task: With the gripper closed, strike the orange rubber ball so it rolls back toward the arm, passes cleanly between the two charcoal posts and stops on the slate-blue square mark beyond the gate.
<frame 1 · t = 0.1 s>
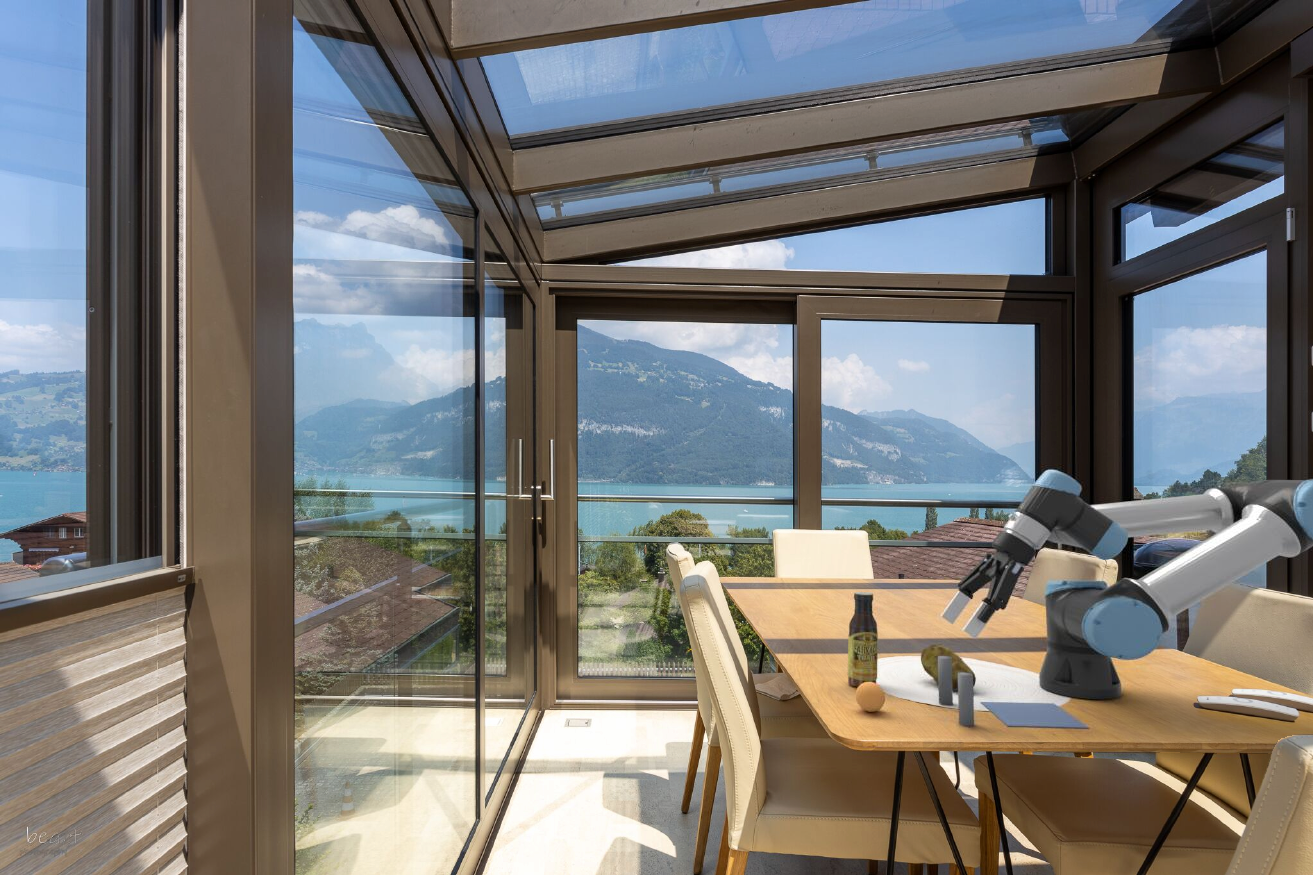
hand: (957, 627, 146), 15 cm above the table, tool tilted 35°, fingers open, 13 cm apart
post 1: (945, 703, 147), on the table
post 2: (966, 724, 135), on the table
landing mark: (1031, 714, 140), on the table
sauce bottle: (863, 686, 160), on the table
potato: (947, 686, 159), on the table
ball: (870, 696, 142), on the table
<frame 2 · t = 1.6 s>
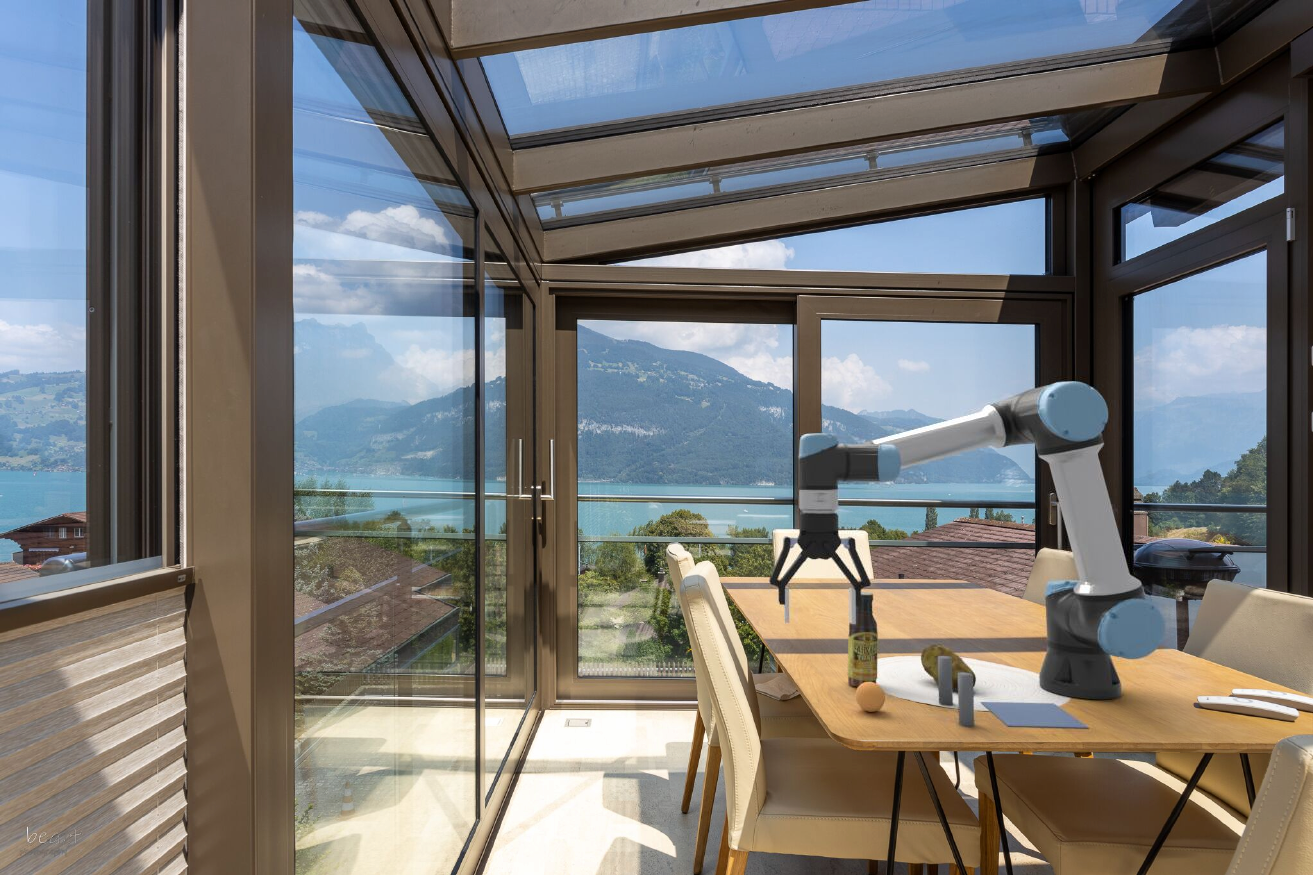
hand: (819, 622, 144), 17 cm above the table, tool pointing down, fingers open, 12 cm apart
nothing on the table moved.
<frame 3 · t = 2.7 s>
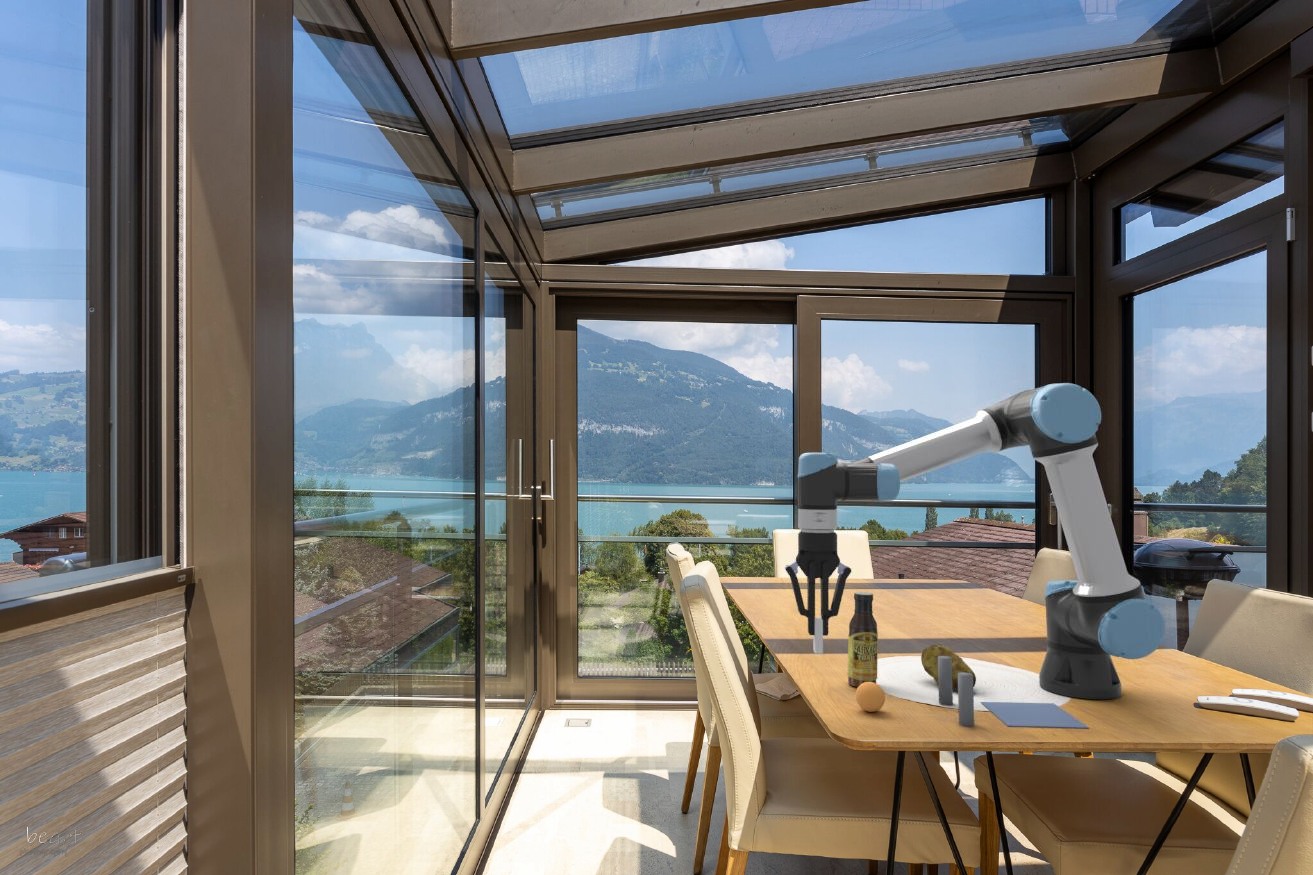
hand: (818, 651, 144), 11 cm above the table, tool pointing down, fingers closed
nothing on the table moved.
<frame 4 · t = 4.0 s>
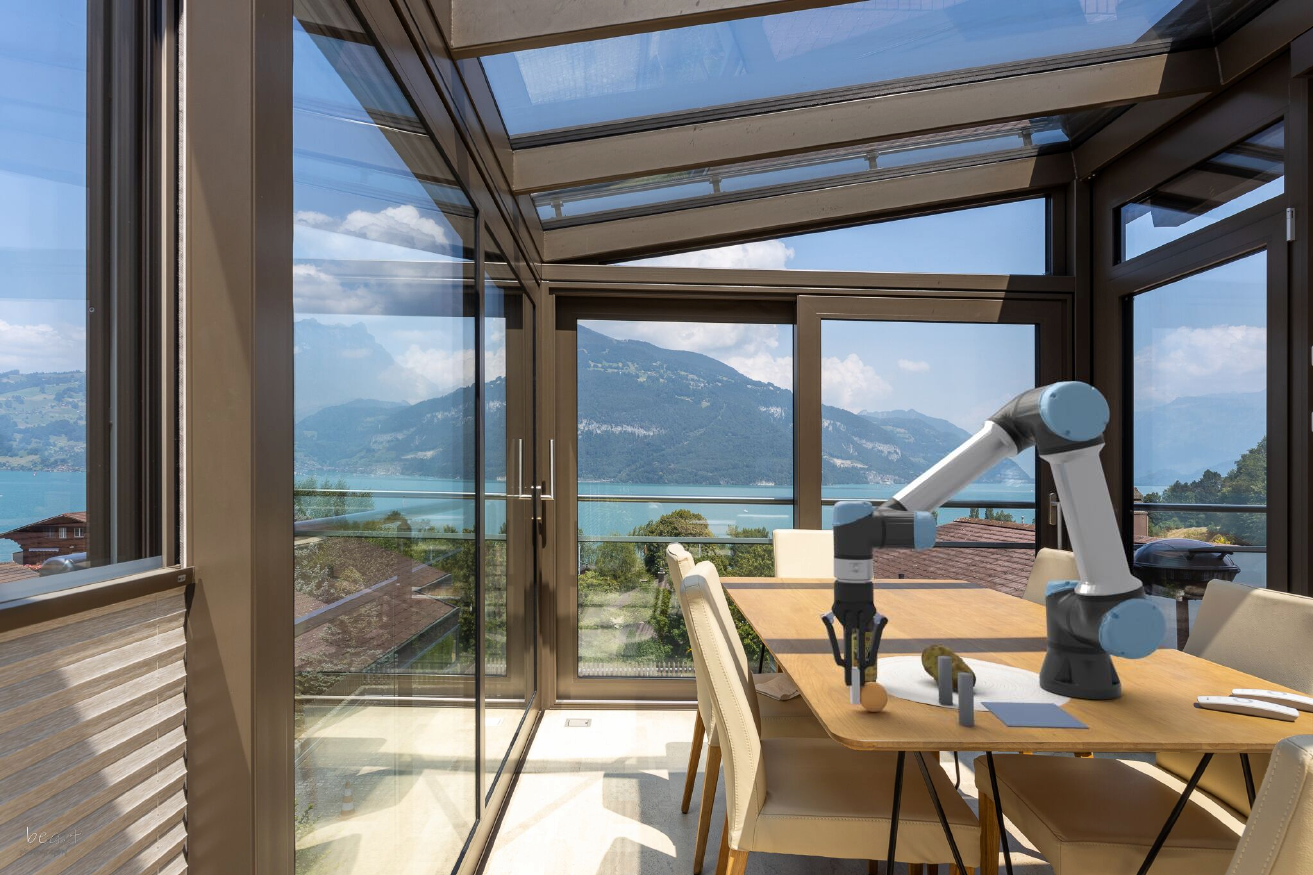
hand: (855, 702, 143), 2 cm above the table, tool pointing down, fingers closed
ball: (872, 696, 142), on the table, touching gripper
everything else where it was.
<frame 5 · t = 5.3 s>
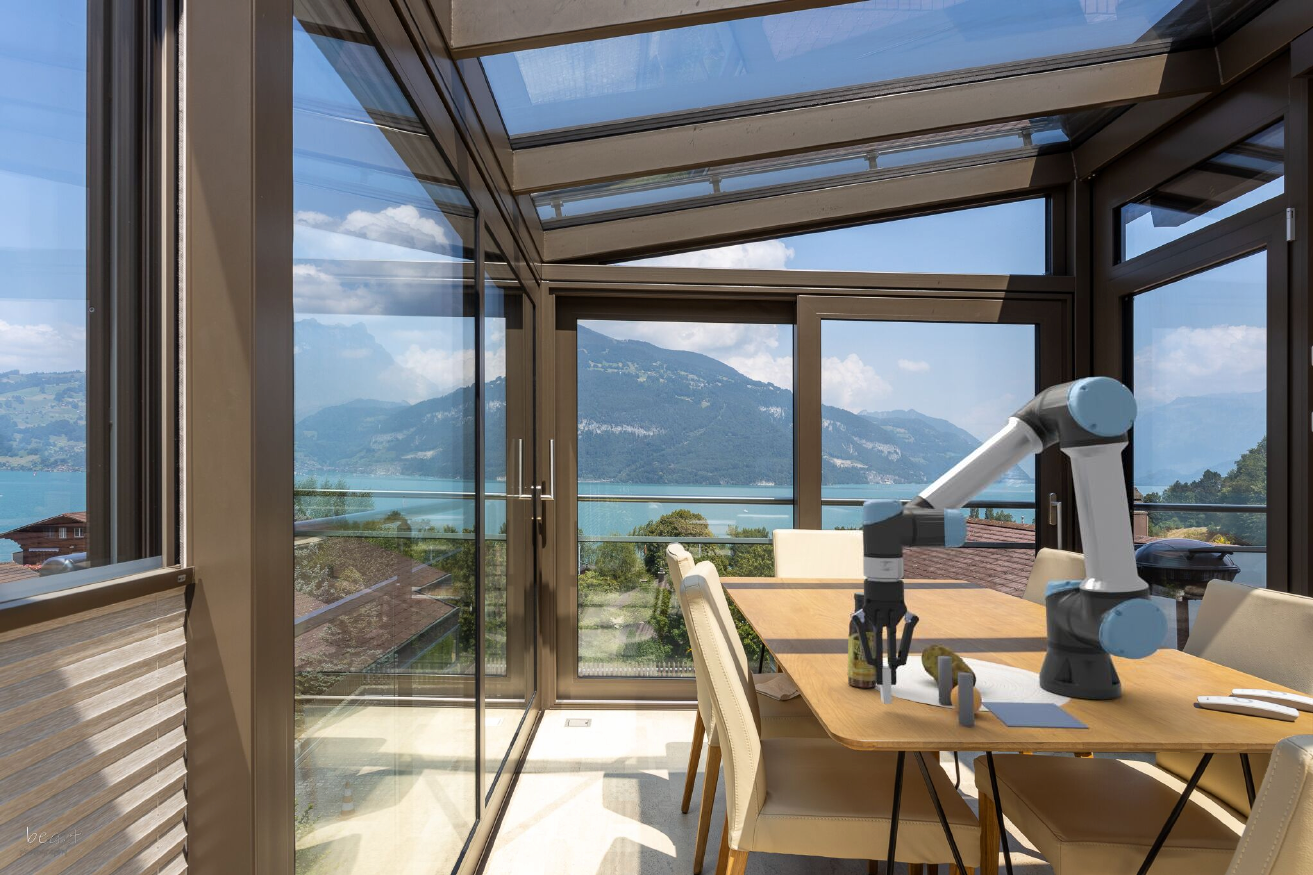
hand: (886, 701, 142), 2 cm above the table, tool pointing down, fingers closed
ball: (966, 698, 141), on the table
everything else where it was.
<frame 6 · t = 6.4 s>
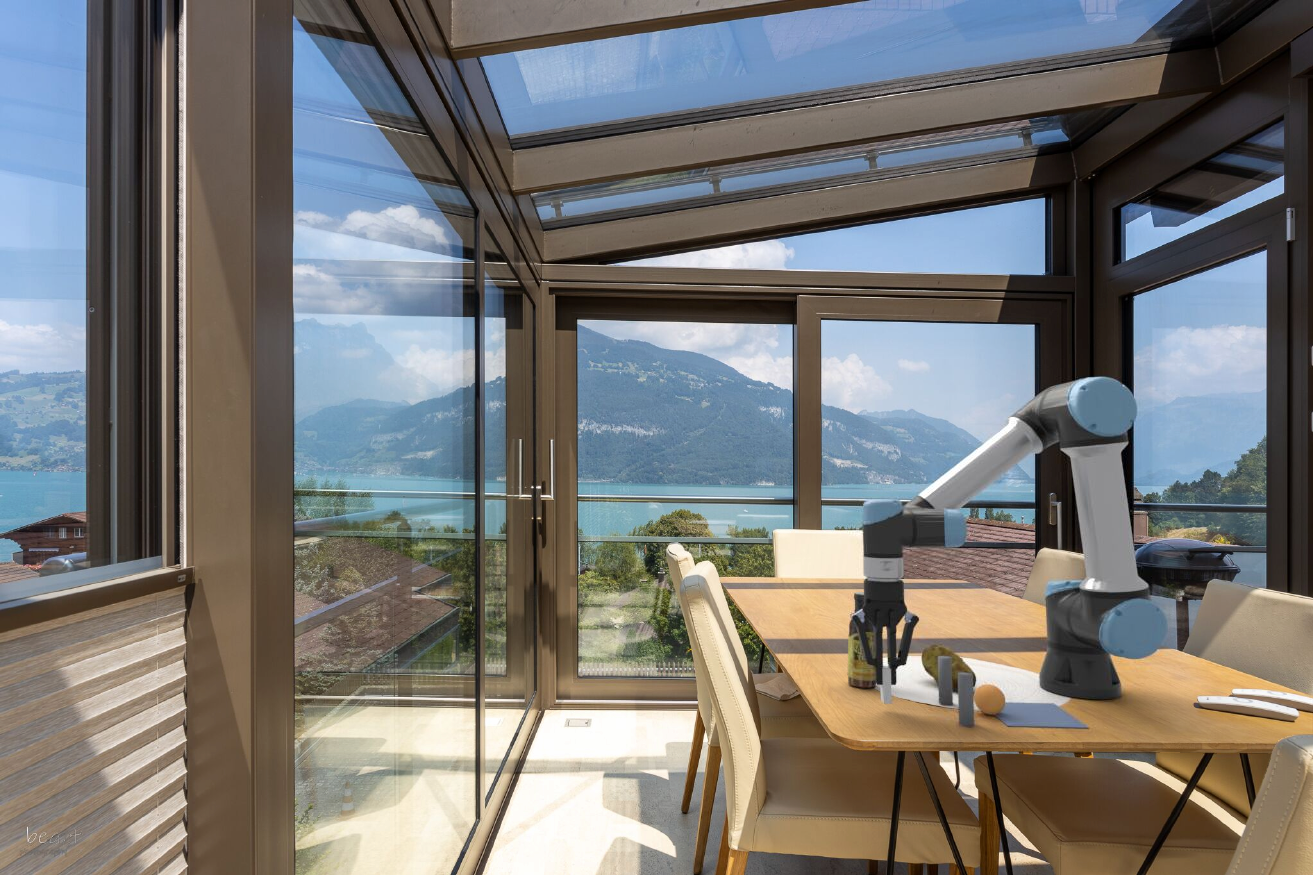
hand: (886, 701, 142), 2 cm above the table, tool pointing down, fingers closed
ball: (989, 699, 140), on the table
everything else where it was.
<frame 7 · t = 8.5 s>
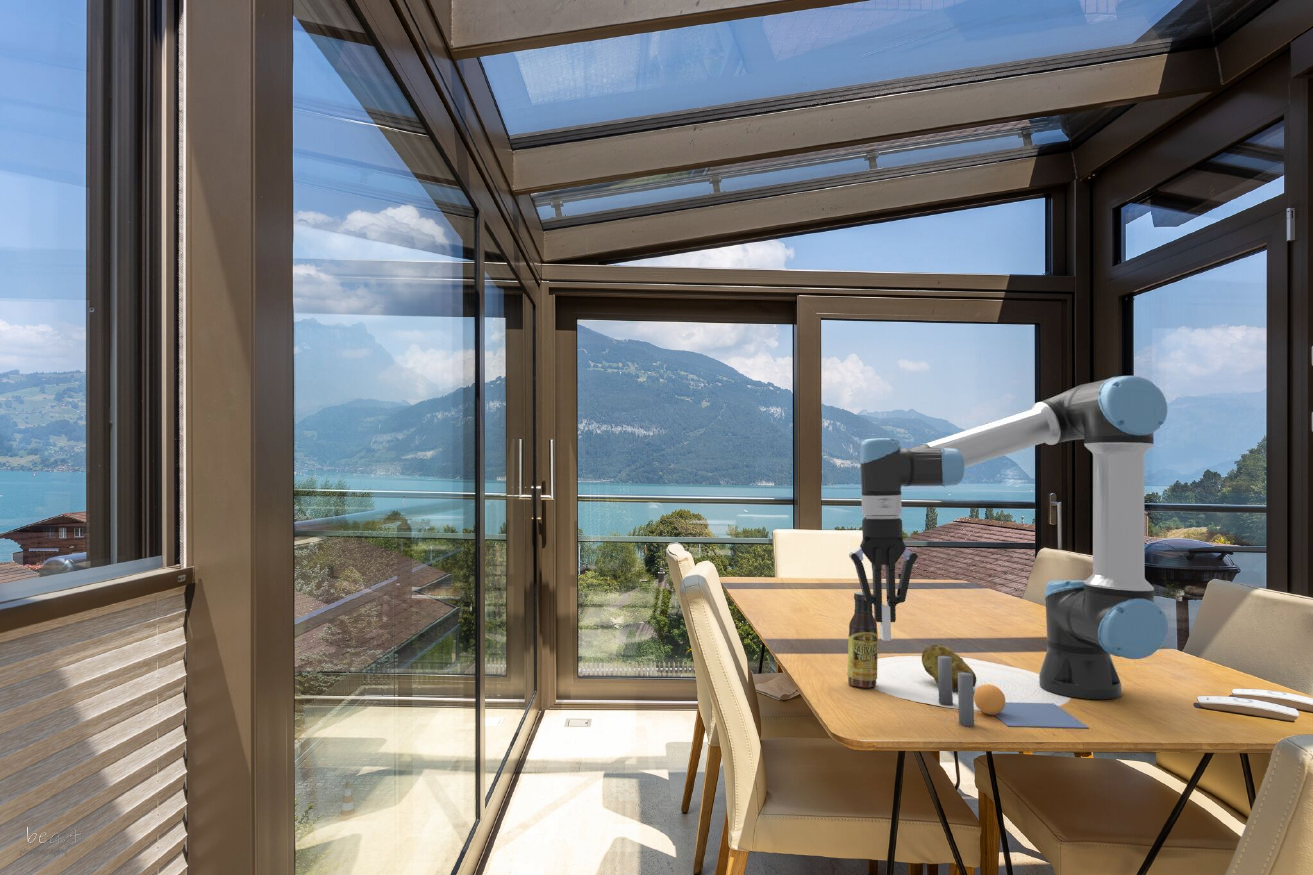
hand: (885, 638, 143), 14 cm above the table, tool pointing down, fingers closed
nothing on the table moved.
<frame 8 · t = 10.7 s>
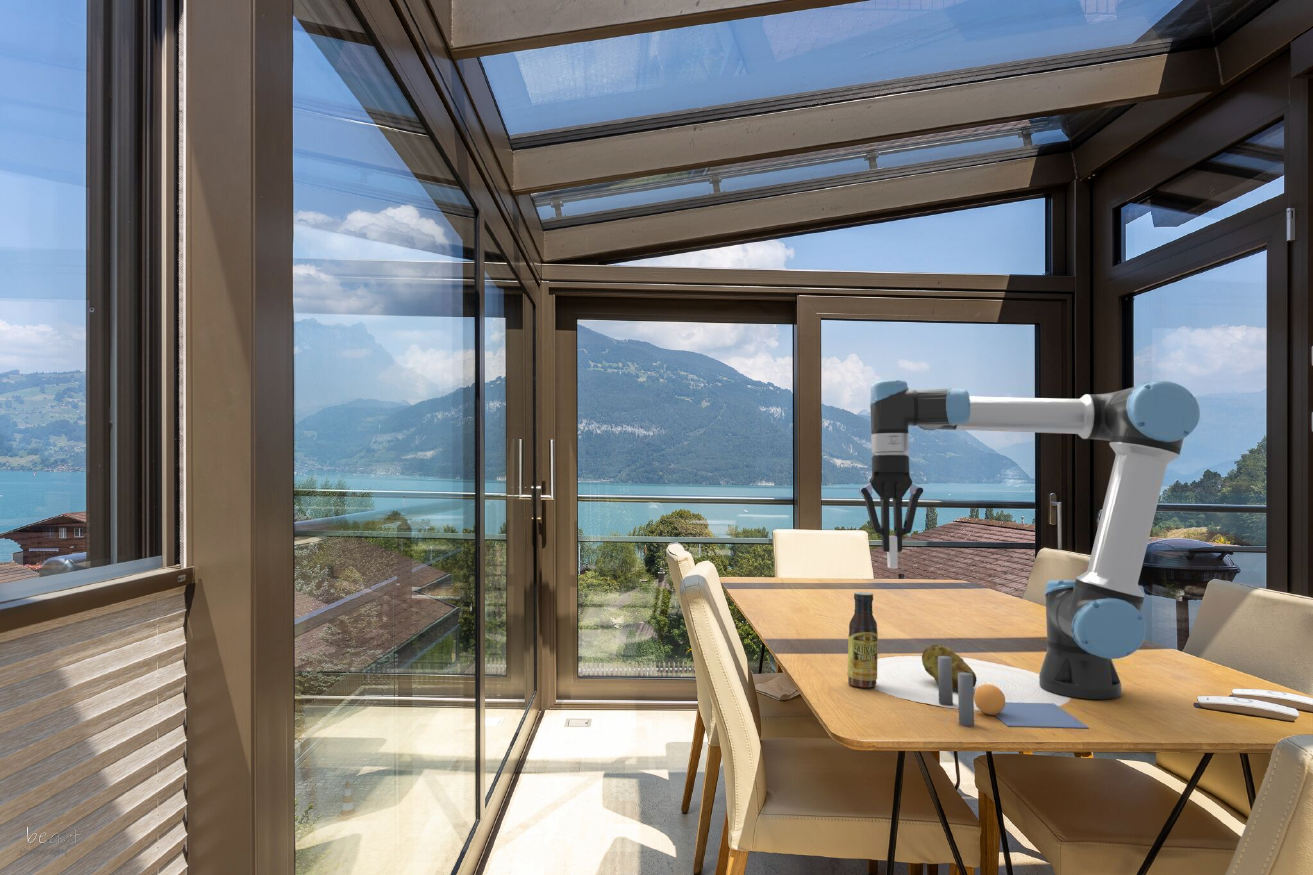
hand: (892, 567, 153), 26 cm above the table, tool pointing down, fingers closed
nothing on the table moved.
at the end: ball 7.7 cm from the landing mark (horizontally); ball never touched post 2; ball never touched post 1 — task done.
